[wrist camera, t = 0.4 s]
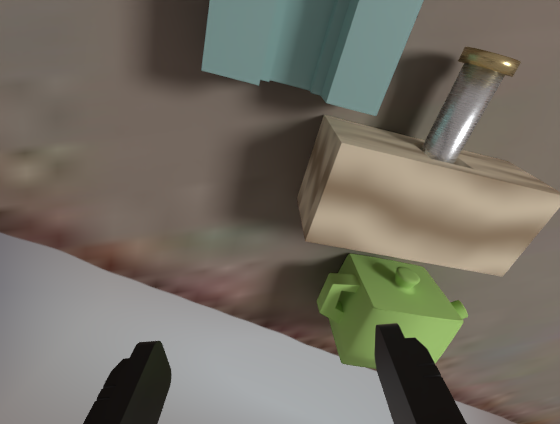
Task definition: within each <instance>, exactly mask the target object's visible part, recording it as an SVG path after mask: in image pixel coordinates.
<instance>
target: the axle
mask: <svg viewBox="0 0 560 424" xmlns="http://www.w3.org/2000/svg"><path fill="white" fill-rule="evenodd" d="M458 61H459V62H462V63H464V65H463V67H462V69H461V71H460V73H459V75H458V77H457V79H456V81H455V83H454V85H453V87H452V89H451V91H450V93H449V95H448V97H447V99H446V100H445V102H444V104H443V106H442V108H441V110H440V112H439V114H438V116H437V118H436V120H435V122H434V124H433V126H432V128H431V130H430V132H429V134H428V136H427V138H426V140H425V142H424V144H423V146H422V148H421V151H423V152H424V153H425V154H426V155H427V156H428V157H430V158H431V159H434V160H438V161H442V162H447V163H451V164H454V163H455V161H456V159H457V158H458V156H459V154H460V152H461V151H462V149H463V147H464V145H465V144H466V142H467V140H468V138H469V137H470V135H471V133H472V132H473V130H474V128H475V126H476V125H477V123H478V121H479V119H480V118H481V116H482V114H483V112H484V111H485V109H486V107H487V106H488V104H489V102H490V100H491V99H492V97H493V95H494V93H495V92H496V90H497V88H498V86H499V85H500V83H501V81H502V80H503V78H504V76H505V75H507V76H511V77H513V75H514V73H515V72H516V70H517V68H518V66H519V65H520V63H521V62H520V61H518V60H515V59H512V58H509V57H506V56H503V55H499V54H496V53H492V52H488V51H484V50H480V49H476V48H471V47H465V48H464V50H463V52H462V54H461V56H460V58H459V60H458Z"/></svg>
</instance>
